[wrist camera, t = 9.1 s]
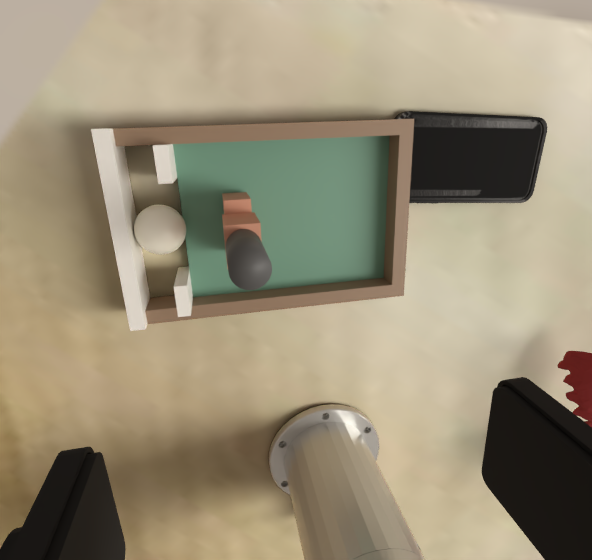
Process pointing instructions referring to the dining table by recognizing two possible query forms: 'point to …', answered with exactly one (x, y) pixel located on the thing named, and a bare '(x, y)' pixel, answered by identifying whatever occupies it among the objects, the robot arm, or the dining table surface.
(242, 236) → the kicker
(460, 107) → the dining table surface
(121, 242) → the pitch
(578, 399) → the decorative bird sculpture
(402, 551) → the robot arm
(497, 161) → the phone
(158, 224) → the ball
